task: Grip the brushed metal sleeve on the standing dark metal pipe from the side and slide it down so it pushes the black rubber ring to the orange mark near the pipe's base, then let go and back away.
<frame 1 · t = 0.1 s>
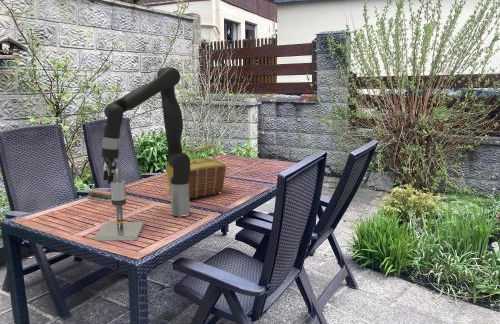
hand: (107, 181, 195), 22 cm above the table, tool pointing down, fingers open, 8 cm apart
picnic basket: (196, 195, 256), on the table
rubber ring: (118, 201, 189), point 15 cm above the table, slide at 0.0 cm
pipe stand: (120, 233, 192), on the table
packaged product: (103, 199, 247), on the table
metal sleeve: (118, 190, 188), point 20 cm above the table, slide at 0.0 cm
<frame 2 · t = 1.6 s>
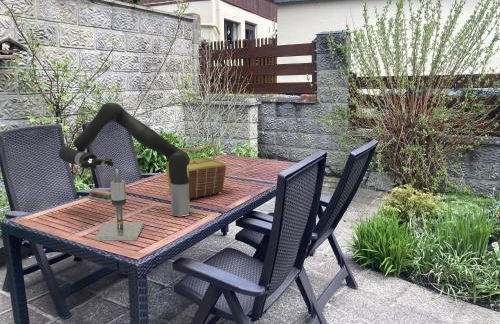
hand: (104, 165, 193), 30 cm above the table, tool horizontal, fingers open, 8 cm apart
nothing on the table moved.
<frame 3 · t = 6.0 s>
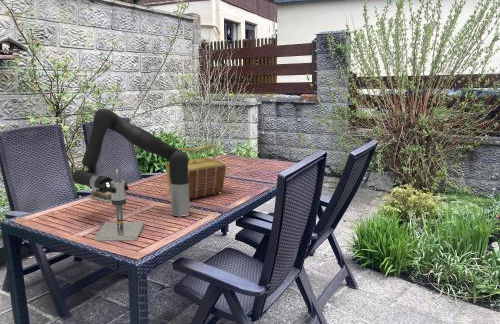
hand: (121, 189, 187), 21 cm above the table, tool horizontal, fingers closed on metal sleeve, 5 cm apart
metal sleeve: (118, 190, 188), point 20 cm above the table, slide at 0.0 cm, touching gripper
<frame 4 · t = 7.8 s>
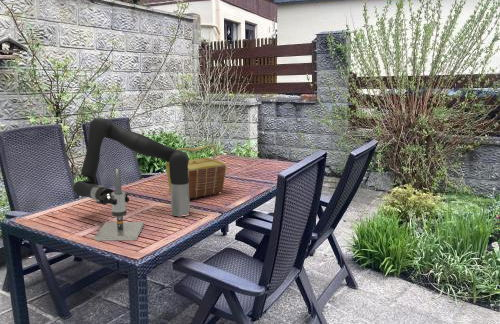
hand: (121, 201, 188), 16 cm above the table, tool horizontal, fingers closed on metal sleeve, 5 cm apart
rubber ring: (119, 212, 190), point 10 cm above the table, slide at 5.1 cm, touching metal sleeve
metal sleeve: (118, 201, 189), point 15 cm above the table, slide at 5.4 cm, touching gripper, rubber ring
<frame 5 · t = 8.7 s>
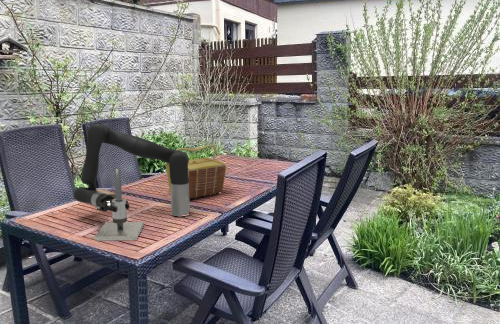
hand: (122, 208, 188), 12 cm above the table, tool horizontal, fingers closed on metal sleeve, 5 cm apart
rubber ring: (119, 219, 191), point 7 cm above the table, slide at 8.4 cm, touching metal sleeve
metal sleeve: (119, 208, 190), point 12 cm above the table, slide at 8.7 cm, touching gripper, rubber ring
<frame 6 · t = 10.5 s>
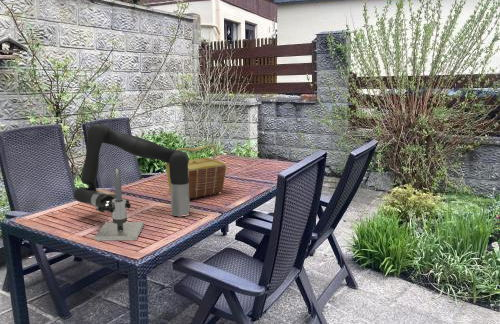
hand: (121, 208, 189), 12 cm above the table, tool horizontal, fingers open, 8 cm apart
metal sleeve: (119, 208, 190), point 12 cm above the table, slide at 8.8 cm, touching rubber ring
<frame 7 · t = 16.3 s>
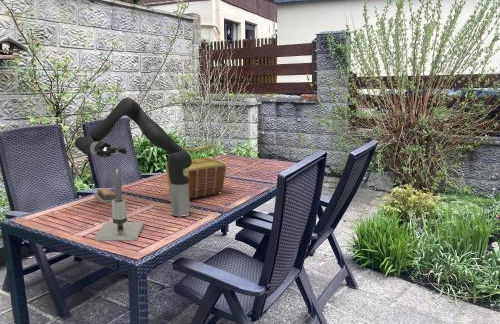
hand: (118, 153, 204), 34 cm above the table, tool horizontal, fingers open, 8 cm apart
at the end: rubber ring slide at 8.5 cm; the gripper is holding nothing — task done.
